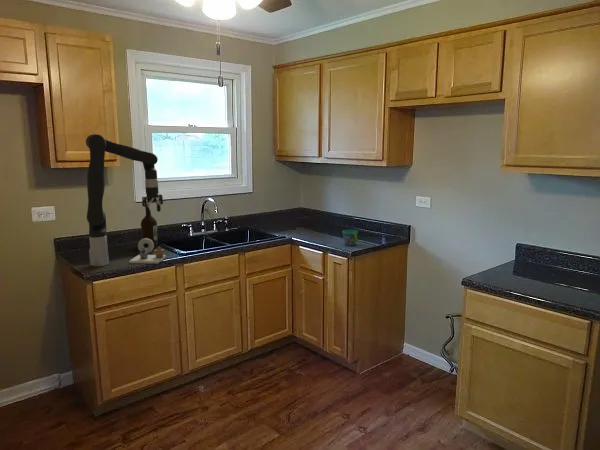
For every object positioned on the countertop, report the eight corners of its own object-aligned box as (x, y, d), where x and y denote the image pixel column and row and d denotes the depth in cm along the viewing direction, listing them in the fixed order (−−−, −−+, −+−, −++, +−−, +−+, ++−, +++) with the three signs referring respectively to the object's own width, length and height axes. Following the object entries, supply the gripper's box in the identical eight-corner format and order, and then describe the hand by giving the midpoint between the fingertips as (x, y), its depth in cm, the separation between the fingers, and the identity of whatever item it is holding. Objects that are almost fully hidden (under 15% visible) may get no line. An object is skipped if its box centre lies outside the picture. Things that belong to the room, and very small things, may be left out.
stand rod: (139, 259, 269) (138, 248, 268) (141, 257, 273) (141, 246, 272) (146, 259, 269) (145, 248, 268) (149, 257, 273) (148, 247, 272)
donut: (154, 251, 292) (153, 237, 290) (154, 253, 289) (153, 238, 287) (138, 253, 288) (136, 238, 286) (138, 254, 285) (137, 239, 283)
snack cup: (338, 243, 316) (338, 229, 314) (352, 242, 319) (352, 228, 317) (347, 248, 301) (348, 233, 299) (361, 247, 305) (362, 232, 303)
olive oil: (140, 247, 304) (137, 211, 299) (145, 243, 314) (142, 208, 310) (155, 247, 304) (153, 211, 299) (160, 243, 315) (158, 208, 310)
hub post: (154, 258, 272) (154, 247, 270) (157, 256, 276) (156, 245, 275) (161, 258, 271) (161, 247, 270) (164, 256, 276) (163, 245, 274)
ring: (159, 254, 269) (158, 251, 269) (152, 253, 272) (151, 250, 272) (166, 252, 274) (166, 249, 274) (159, 251, 277) (159, 248, 277)
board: (129, 263, 266) (129, 260, 265) (139, 257, 279) (138, 254, 279) (157, 263, 265) (157, 261, 265) (165, 257, 279) (165, 255, 278)
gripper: (146, 187, 265) (148, 214, 268) (164, 185, 277) (166, 211, 280) (138, 186, 269) (139, 213, 272) (156, 184, 281) (157, 210, 284)
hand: (153, 212), depth 276 cm, fingers open, 8 cm apart
